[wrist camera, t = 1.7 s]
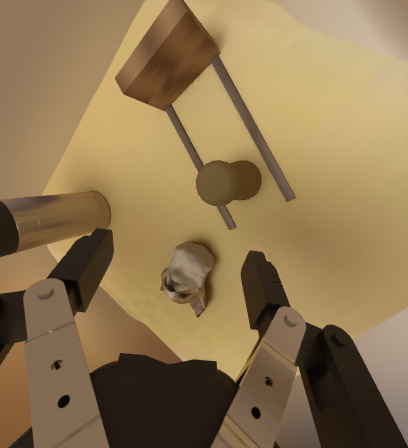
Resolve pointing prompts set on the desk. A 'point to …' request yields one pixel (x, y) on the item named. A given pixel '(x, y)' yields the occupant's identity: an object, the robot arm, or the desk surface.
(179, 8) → the lane
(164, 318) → the desk surface
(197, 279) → the ceramic sculpture
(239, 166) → the cork
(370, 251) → the desk surface
